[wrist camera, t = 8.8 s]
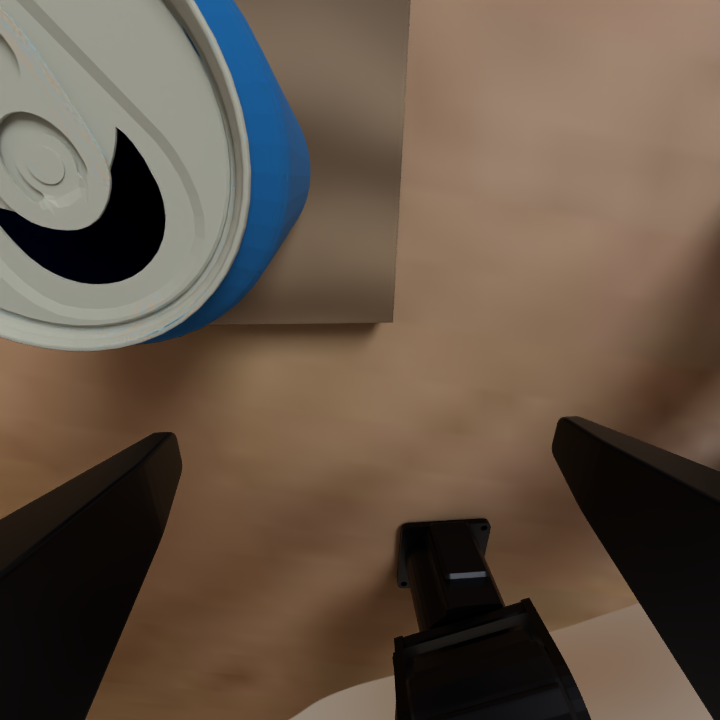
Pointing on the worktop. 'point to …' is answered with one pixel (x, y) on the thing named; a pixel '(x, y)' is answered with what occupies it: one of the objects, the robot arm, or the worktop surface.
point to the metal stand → (336, 158)
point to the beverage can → (137, 169)
